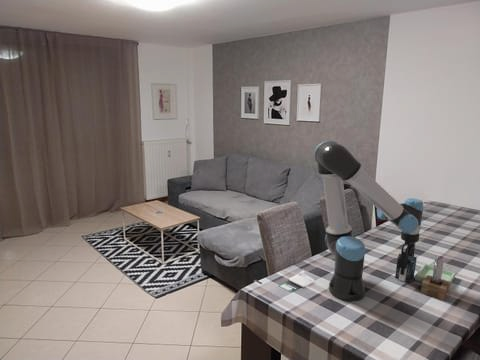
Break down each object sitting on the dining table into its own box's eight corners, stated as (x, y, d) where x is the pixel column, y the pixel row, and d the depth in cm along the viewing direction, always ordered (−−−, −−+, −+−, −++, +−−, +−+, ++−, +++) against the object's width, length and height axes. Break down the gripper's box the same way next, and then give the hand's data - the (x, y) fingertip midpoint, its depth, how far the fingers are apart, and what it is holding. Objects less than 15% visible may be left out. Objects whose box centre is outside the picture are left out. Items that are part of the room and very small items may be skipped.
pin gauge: (437, 295, 150) (442, 263, 147) (429, 292, 152) (434, 261, 149) (439, 292, 152) (444, 260, 149) (431, 289, 154) (436, 258, 151)
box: (394, 278, 164) (397, 257, 162) (396, 273, 169) (398, 253, 167) (413, 282, 160) (416, 261, 158) (414, 277, 165) (416, 256, 163)
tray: (447, 290, 154) (448, 284, 154) (414, 279, 163) (415, 274, 162) (454, 277, 166) (455, 272, 165) (423, 268, 174) (424, 263, 174)
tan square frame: (443, 300, 146) (445, 289, 145) (420, 292, 152) (422, 282, 151) (448, 292, 153) (450, 281, 151) (426, 285, 158) (427, 275, 157)
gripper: (412, 240, 150) (406, 288, 155) (425, 228, 165) (419, 272, 170) (394, 235, 155) (389, 282, 159) (408, 224, 170) (403, 267, 175)
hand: (404, 277), depth 165 cm, fingers open, 8 cm apart
